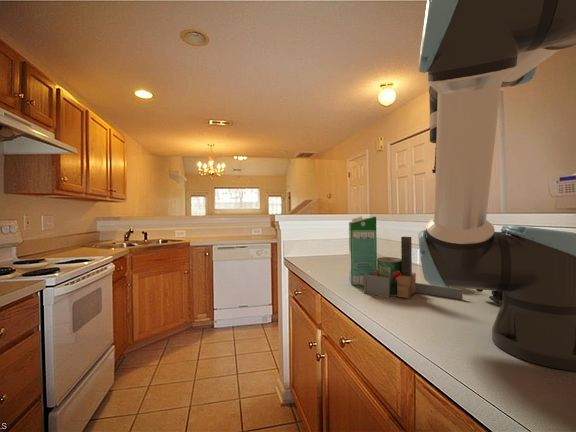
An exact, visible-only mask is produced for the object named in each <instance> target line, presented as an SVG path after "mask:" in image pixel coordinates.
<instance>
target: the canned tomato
mask: <svg viewBox="0 0 576 432" xmlns="http://www.w3.org/2000/svg"><path fill="white" fill-rule="evenodd" d="M401 274H402V267H401V258H399V257H391V256H382V257H377V276H380V277H387V278H390V297H398V296H397V277H398V276H399V275H401Z"/></svg>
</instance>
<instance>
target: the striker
mask: <svg viewBox="0 0 576 432" xmlns="http://www.w3.org/2000/svg"><path fill="white" fill-rule="evenodd" d="M400 238H401V239H400V241H401V242H400V243H401V245H400V246H401V247H400V249H401V250H400V253H401V254H400V255H401V258H400V259H401V267H402V274H401V275H399V276H398V277H397V296H396V297H400V298H405V299H408V298H410V297H411V296H412V295H413V294H414V293H417V292H416V283H417V280H416V278H417V276H416V275H417V273H416V272H412V271H413V269H412V267H413V264H412V263H413V261H412V260H413V259H412V257H413V256H412V255H413V254H412V253H413V252H412V250H413V249H412V248H413V247H412V236H401V237H400Z"/></svg>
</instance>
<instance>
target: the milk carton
mask: <svg viewBox="0 0 576 432" xmlns="http://www.w3.org/2000/svg"><path fill="white" fill-rule="evenodd" d="M377 250H378V249H377V217H376V216H373V215H371V216H369V217H364V218H363V216H357V217H353V218H351V221H349V222H348V252H349V253H348V262H349V263H348V265H349V266H348V267H349V269H348V271H349V272H348V275H349V276H348V277H349V282H350V284H351V286H364V275H365V274H367V273H370V272H372V271H374V270H377V258H378V256H377V252H378V251H377Z"/></svg>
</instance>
